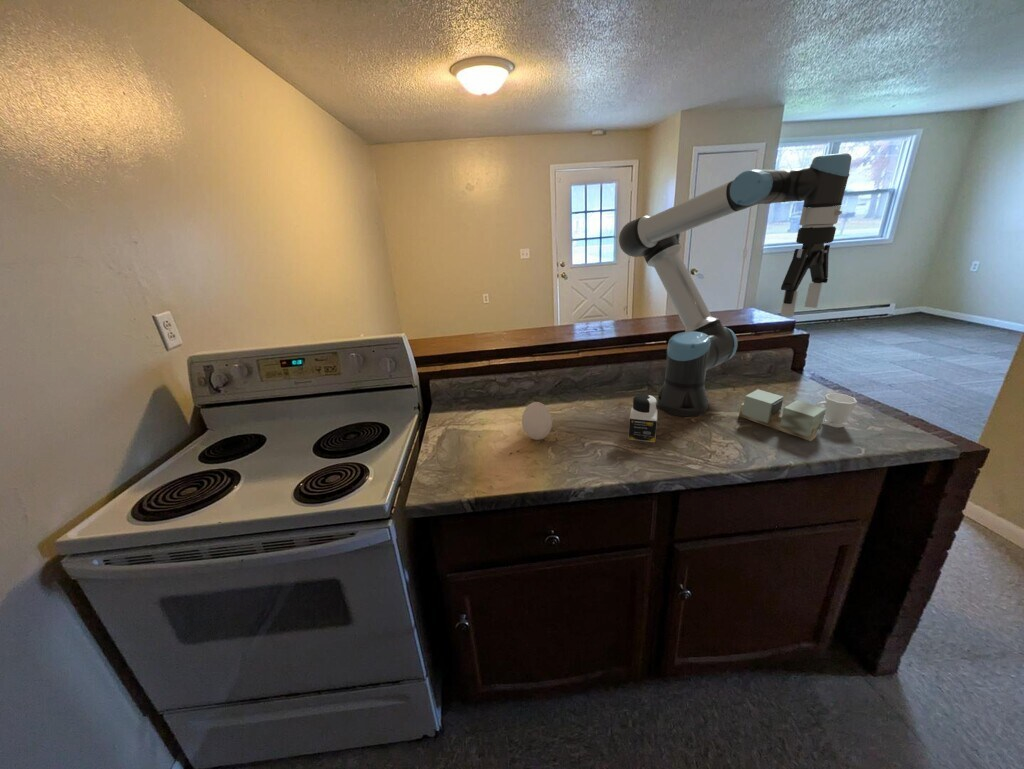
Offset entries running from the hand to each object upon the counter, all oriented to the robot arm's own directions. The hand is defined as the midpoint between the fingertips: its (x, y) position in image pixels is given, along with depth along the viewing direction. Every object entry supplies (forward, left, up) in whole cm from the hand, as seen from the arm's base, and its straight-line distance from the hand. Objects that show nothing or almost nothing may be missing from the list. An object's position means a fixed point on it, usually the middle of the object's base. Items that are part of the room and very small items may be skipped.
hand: (798, 311), depth 106 cm
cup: (+11, +6, -32) cm, 34 cm away
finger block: (-2, -6, -30) cm, 30 cm away
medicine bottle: (-18, -38, -32) cm, 53 cm away
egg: (-36, -62, -32) cm, 78 cm away
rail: (+2, -6, -32) cm, 32 cm away
